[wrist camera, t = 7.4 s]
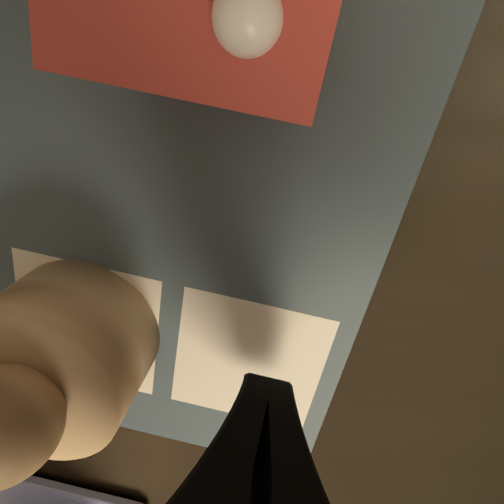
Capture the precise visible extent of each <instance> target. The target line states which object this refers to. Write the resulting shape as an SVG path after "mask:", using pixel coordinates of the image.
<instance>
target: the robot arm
mask: <svg viewBox="0 0 504 504" xmlns="http://www.w3.org/2000/svg"><path fill="white" fill-rule="evenodd" d="M0 504H143V503H141V502H138V501H134V500H130V499H126V498H122V497H118V496H113V495H109V494H105V493H101V492H97V491H93V490H89V489H85V488H81V487H77V486H73V485H69V484H65V483H61V482H57V481H53V480H49V479H45V478H41V477H37V476H33V475H31V476H30V477H29V478H27V479H26V480H24V481H22V482H21V483H19V484H17V485H15V486H13V487H11V488H8V489H5V490H2V491H0ZM166 504H330V502H329V500H328V498H327V495H326V493H325V490H324V488H323V485H322V483H321V480H320V478H319V475H318V473H317V470H316V467H315V464H314V462H313V459H312V456H311V453H310V450H309V447H308V444H307V441H306V438H305V435H304V431H303V428H302V425H301V421H300V417H299V414H298V410H297V406H296V402H295V397H294V392H293V386H292V385H291V383H290V382H287V381H283V380H279V379H274V378H270V377H266V376H262V375H257V374H253V373H247V374H245V375H244V379H243V382H242V385H241V388H240V390H239V393H238V395H237V397H236V399H235V401H234V404H233V406H232V408H231V410H230V411H229V413H228V415H227V417H226V418H225V420H224V422H223V424H222V425H221V427H220V429H219V431H218V432H217V434H216V435H215V437H214V438H213V440H212V441H211V443H210V445H209V446H208V448H207V449H206V451H205V452H204V454H203V455H202V457H201V458H200V460H199V461H198V462H197V464H196V465H195V467H194V468H193V469H192V471H191V472H190V473H189V475H188V476H187V477H186V479H185V480H184V481H183V483H182V484H181V485H180V486H179V488H178V489H177V490H176V492H175V493H174V494H173V495H172V497H171V498H170V499H169V500H168V501H167V503H166Z"/></svg>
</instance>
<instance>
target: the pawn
mask: <svg viewBox="0 0 504 504" xmlns="http://www.w3.org/2000/svg"><path fill="white" fill-rule="evenodd" d="M159 344H160V334H159V327H158V324H157V321H156V318H155V316H154V313H153V311H152V309H151V308H150V306H149V304H148V303H147V301H146V300H145V299H144V298H143V296H142V295H141V294H140V293H139V292H138V291H137V290H136V289H135V288H134V287H133V286H132V285H131V284H130V283H129V282H127V281H126V280H125V279H123V278H122V277H120V276H119V275H117V274H116V273H114V272H112V271H110V270H108V269H107V268H104V267H102V266H99V265H97V264H94V263H90V262H87V261H81V260H71V259H65V260H55V261H51V262H47V263H44V264H42V265H39V266H38V267H36V268H35V269H33V270H31V271H30V272H29V273H27V274H26V275H24V276H23V277H21V278H20V279H18V280H17V281H16V282H14V283H13V284H11V285H10V286H8V287H7V288H5V289H4V290H3V291H1V292H0V491H2V490H5V489H8V488H11V487H13V486H15V485H17V484H19V483H21V482H22V481H24V480H26V479H27V478H29V477H30V476H31V475H33V474H34V473H35V472H36V471H37V470H39V469H40V468H41V467H42V466H43V465H44V464H45V463H46V462H47V460H63V461H66V460H76V459H81V458H85V457H88V456H91V455H93V454H95V453H97V452H99V451H101V450H102V449H103V448H105V447H106V446H107V445H108V444H109V443H110V441H111V440H112V439H113V437H114V435H115V433H116V432H117V430H118V428H119V426H120V424H121V422H122V420H123V418H124V417H125V415H126V413H127V411H128V409H129V407H130V405H131V403H132V402H133V400H134V398H135V396H136V394H137V392H138V390H139V388H140V387H141V385H142V383H143V381H144V379H145V377H146V375H147V373H148V371H149V370H150V368H151V366H152V364H153V362H154V360H155V358H156V356H157V353H158V350H159Z"/></svg>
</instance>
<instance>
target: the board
mask: <svg viewBox="0 0 504 504" xmlns="http://www.w3.org/2000/svg"><path fill="white" fill-rule="evenodd" d="M485 2H486V0H342V4H341V8H340V12H339V17H338V21H337V25H336V29H335V33H334V37H333V41H332V45H331V49H330V53H329V58H328V62H327V66H326V70H325V74H324V78H323V82H322V86H321V90H320V94H319V99H318V103H317V107H316V111H315V115H314V119H313V123H312V127H309V126H304V125H300V124H295V123H290V122H285V121H280V120H276V119H271V118H266V117H261V116H257V115H252V114H247V113H242V112H237V111H233V110H228V109H223V108H218V107H213V106H209V105H204V104H199V103H194V102H190V101H185V100H180V99H175V98H170V97H166V96H161V95H156V94H151V93H146V92H142V91H137V90H132V89H127V88H123V87H118V86H113V85H108V84H103V83H99V82H94V81H89V80H84V79H79V78H75V77H70V76H65V75H60V74H56V73H51V72H46V71H41V70H36V69H33V62H32V48H31V33H30V19H29V5H28V0H0V292H1V291H3V290H4V289H5V288H7V287H8V286H10V285H11V284H13V283H14V282H16V281H17V280H18V279H20V278H21V277H23V276H24V275H26V274H27V273H29V272H30V271H31V270H33V269H35V268H36V267H38V266H39V265H42V264H44V263H47V262H51V261H55V260H65V259H71V260H81V261H87V262H90V263H94V264H97V265H99V266H102V267H104V268H107V269H108V270H110V271H112V272H114V273H116V274H117V275H119V276H120V277H122V278H123V279H125V280H126V281H127V282H129V283H130V284H131V285H132V286H133V287H134V288H135V289H136V290H137V291H138V292H139V293H140V294H141V295H142V296H143V298H144V299H145V300H146V301H147V303H148V304H149V306H150V308H151V309H152V311H153V313H154V316H155V318H156V321H157V324H158V327H159V334H160V344H159V350H158V353H157V356H156V358H155V360H154V362H153V364H152V366H151V368H150V370H149V371H148V373H147V375H146V377H145V379H144V381H143V383H142V385H141V387H140V388H139V390H138V392H137V394H136V396H135V398H134V400H133V402H132V403H131V405H130V407H129V409H128V411H127V413H126V415H125V417H124V418H123V420H122V422H121V424H120V427H125V428H129V429H133V430H137V431H141V432H145V433H149V434H154V435H158V436H162V437H166V438H170V439H174V440H178V441H183V442H187V443H191V444H195V445H199V446H203V447H208V446H209V445H210V443H211V441H212V440H213V438H214V437H215V435H216V434H217V432H218V431H219V429H220V427H221V425H222V424H223V422H224V420H225V418H226V417H227V415H228V413H229V411H230V410H231V408H232V406H233V404H234V401H235V399H236V397H237V395H238V393H239V390H240V388H241V385H242V382H243V379H244V375H245V374H247V373H253V374H257V375H262V376H266V377H270V378H274V379H279V380H283V381H287V382H290V383H291V385H292V386H293V392H294V397H295V402H296V406H297V410H298V414H299V417H300V421H301V425H302V428H303V431H304V435H305V438H306V441H307V444H308V447H309V450H310V453H311V451H312V449H313V446H314V443H315V441H316V438H317V436H318V433H319V430H320V428H321V425H322V423H323V420H324V418H325V415H326V412H327V410H328V407H329V405H330V402H331V399H332V397H333V394H334V392H335V389H336V387H337V384H338V381H339V379H340V376H341V374H342V371H343V369H344V366H345V363H346V361H347V358H348V356H349V353H350V350H351V348H352V345H353V343H354V340H355V338H356V335H357V332H358V330H359V327H360V325H361V322H362V319H363V317H364V314H365V312H366V309H367V307H368V304H369V301H370V299H371V296H372V294H373V291H374V288H375V286H376V283H377V281H378V278H379V276H380V273H381V270H382V268H383V265H384V263H385V260H386V257H387V255H388V252H389V250H390V247H391V245H392V242H393V239H394V237H395V234H396V232H397V229H398V226H399V224H400V221H401V219H402V216H403V214H404V211H405V208H406V206H407V203H408V201H409V198H410V196H411V193H412V190H413V188H414V185H415V183H416V180H417V177H418V175H419V172H420V170H421V167H422V165H423V162H424V159H425V157H426V154H427V152H428V149H429V146H430V144H431V141H432V139H433V136H434V134H435V131H436V128H437V126H438V123H439V121H440V118H441V115H442V113H443V110H444V108H445V105H446V103H447V100H448V97H449V95H450V92H451V90H452V87H453V84H454V82H455V79H456V77H457V74H458V72H459V69H460V66H461V64H462V61H463V59H464V56H465V53H466V51H467V48H468V46H469V43H470V41H471V38H472V35H473V33H474V30H475V28H476V25H477V23H478V20H479V17H480V15H481V12H482V10H483V7H484V4H485Z"/></svg>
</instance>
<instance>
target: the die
mask: <svg viewBox="0 0 504 504" xmlns="http://www.w3.org/2000/svg"><path fill="white" fill-rule="evenodd" d="M341 4H342V0H28V5H29V19H30V33H31V48H32V62H33V69H36V70H41V71H46V72H51V73H56V74H60V75H65V76H70V77H75V78H79V79H84V80H89V81H94V82H99V83H103V84H108V85H113V86H118V87H123V88H127V89H132V90H137V91H142V92H146V93H151V94H156V95H161V96H166V97H170V98H175V99H180V100H185V101H190V102H194V103H199V104H204V105H209V106H213V107H218V108H223V109H228V110H233V111H237V112H242V113H247V114H252V115H257V116H261V117H266V118H271V119H276V120H280V121H285V122H290V123H295V124H300V125H304V126H309V127H312V123H313V119H314V115H315V111H316V107H317V103H318V99H319V94H320V90H321V86H322V82H323V78H324V74H325V70H326V66H327V62H328V58H329V53H330V49H331V45H332V41H333V37H334V33H335V29H336V25H337V21H338V17H339V12H340V8H341Z"/></svg>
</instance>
